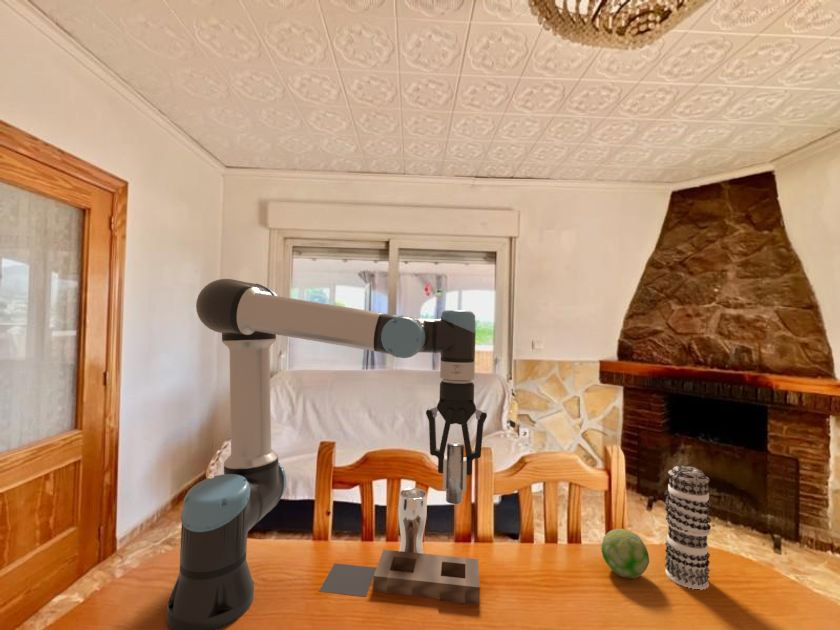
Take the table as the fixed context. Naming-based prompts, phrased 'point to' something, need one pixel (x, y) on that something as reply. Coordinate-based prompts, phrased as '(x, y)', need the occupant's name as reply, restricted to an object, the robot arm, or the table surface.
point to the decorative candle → (687, 527)
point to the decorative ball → (625, 553)
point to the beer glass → (412, 519)
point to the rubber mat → (348, 580)
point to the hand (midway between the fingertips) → (454, 488)
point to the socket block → (428, 576)
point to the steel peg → (454, 473)
